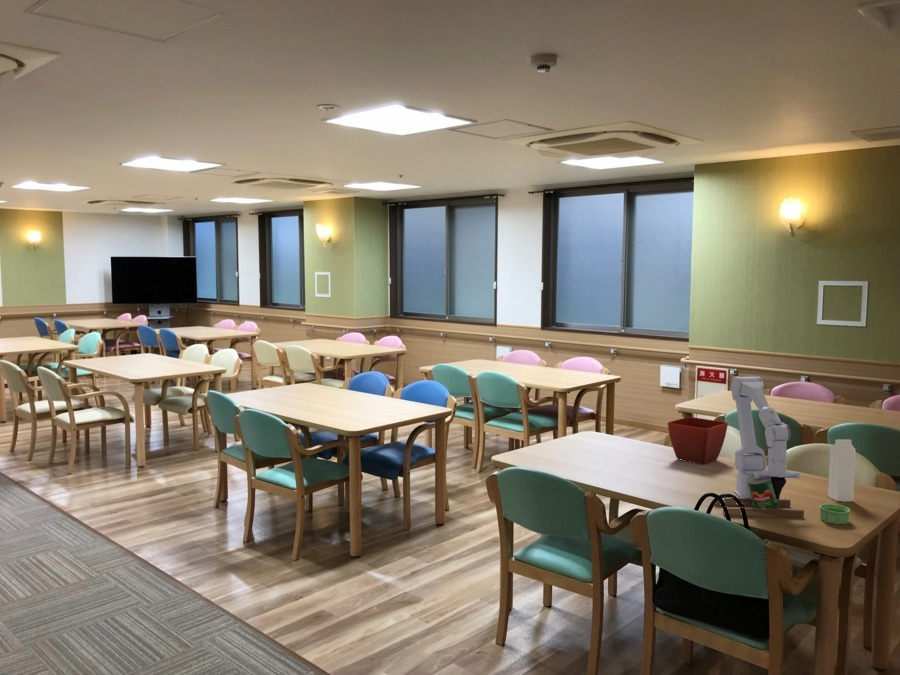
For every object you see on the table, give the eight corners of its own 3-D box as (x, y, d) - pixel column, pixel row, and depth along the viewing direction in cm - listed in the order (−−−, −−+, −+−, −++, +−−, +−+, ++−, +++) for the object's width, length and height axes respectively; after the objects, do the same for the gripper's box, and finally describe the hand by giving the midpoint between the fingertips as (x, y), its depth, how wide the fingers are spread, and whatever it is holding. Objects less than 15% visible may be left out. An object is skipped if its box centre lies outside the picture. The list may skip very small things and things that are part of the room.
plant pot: (665, 459, 318) (666, 421, 316) (687, 452, 330) (688, 416, 329) (705, 468, 303) (707, 428, 302) (727, 460, 316) (729, 422, 315)
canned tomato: (773, 501, 252) (765, 472, 251) (782, 509, 244) (774, 478, 243) (750, 507, 252) (742, 478, 251) (760, 515, 244) (751, 485, 243)
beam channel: (713, 504, 256) (713, 496, 256) (788, 505, 254) (788, 497, 254) (724, 515, 243) (724, 507, 243) (803, 517, 242) (804, 509, 241)
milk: (853, 501, 259) (857, 441, 257) (837, 501, 259) (840, 441, 257) (843, 496, 265) (846, 437, 263) (827, 496, 265) (830, 437, 263)
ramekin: (837, 515, 244) (838, 503, 244) (856, 524, 235) (856, 511, 235) (813, 517, 243) (813, 504, 242) (831, 526, 234) (831, 513, 233)
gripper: (759, 462, 243) (759, 501, 244) (803, 462, 242) (803, 502, 243) (752, 457, 250) (751, 496, 251) (795, 457, 249) (794, 496, 250)
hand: (776, 498), depth 247 cm, fingers closed, pressing on canned tomato
